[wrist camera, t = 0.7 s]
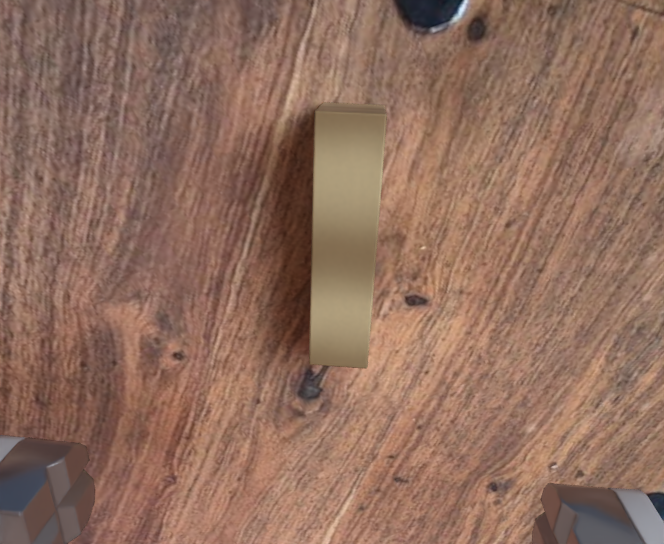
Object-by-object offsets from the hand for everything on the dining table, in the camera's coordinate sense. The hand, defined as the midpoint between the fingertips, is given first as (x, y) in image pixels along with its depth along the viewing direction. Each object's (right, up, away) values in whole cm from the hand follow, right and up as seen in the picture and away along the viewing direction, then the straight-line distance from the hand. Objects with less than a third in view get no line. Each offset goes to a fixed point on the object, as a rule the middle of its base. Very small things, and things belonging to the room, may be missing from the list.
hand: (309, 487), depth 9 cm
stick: (+1, +6, +12) cm, 14 cm away
